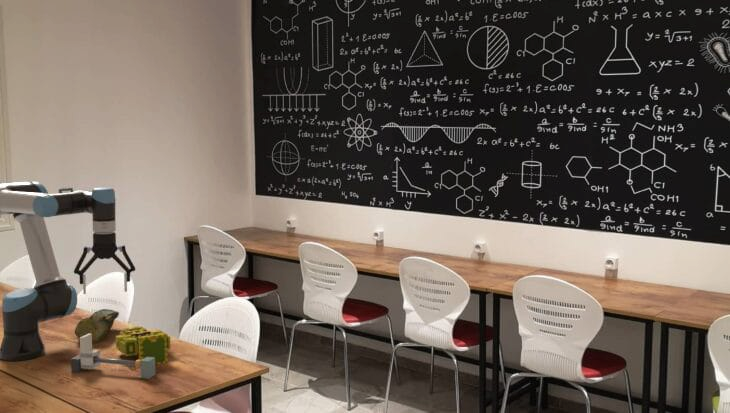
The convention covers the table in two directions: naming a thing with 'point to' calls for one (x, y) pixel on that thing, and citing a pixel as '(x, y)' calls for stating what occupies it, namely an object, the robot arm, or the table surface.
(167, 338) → the toy
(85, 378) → the table surface
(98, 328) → the stone
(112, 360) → the rail
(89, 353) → the cream l-shaped block
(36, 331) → the robot arm
